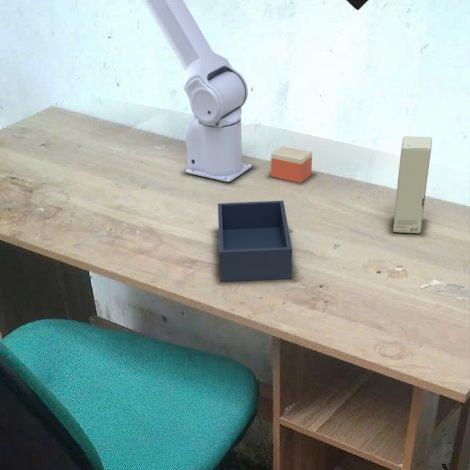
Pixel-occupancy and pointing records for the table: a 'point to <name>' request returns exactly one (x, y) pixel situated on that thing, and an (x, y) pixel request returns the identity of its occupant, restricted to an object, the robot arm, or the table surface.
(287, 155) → the box
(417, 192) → the box
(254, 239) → the navy blue open bin
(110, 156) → the table surface
